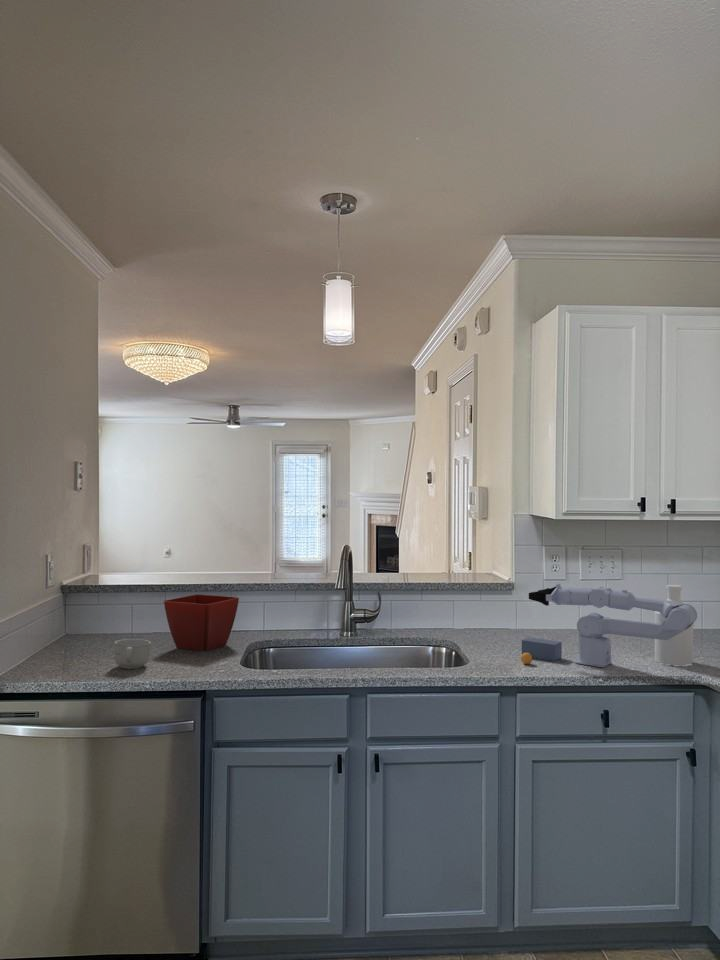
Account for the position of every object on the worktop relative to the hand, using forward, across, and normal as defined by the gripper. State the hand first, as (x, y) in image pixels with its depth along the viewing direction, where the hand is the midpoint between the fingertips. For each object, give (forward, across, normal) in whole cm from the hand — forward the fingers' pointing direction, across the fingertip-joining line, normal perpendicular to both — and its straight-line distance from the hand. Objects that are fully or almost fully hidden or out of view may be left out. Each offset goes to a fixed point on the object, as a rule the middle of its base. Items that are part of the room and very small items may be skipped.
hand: (533, 594), depth 254 cm
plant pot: (+99, +60, +16) cm, 117 cm away
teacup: (+93, +94, +16) cm, 133 cm away
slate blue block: (-3, +2, +20) cm, 21 cm away
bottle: (-40, -18, +22) cm, 49 cm away
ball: (-2, +14, +19) cm, 23 cm away
